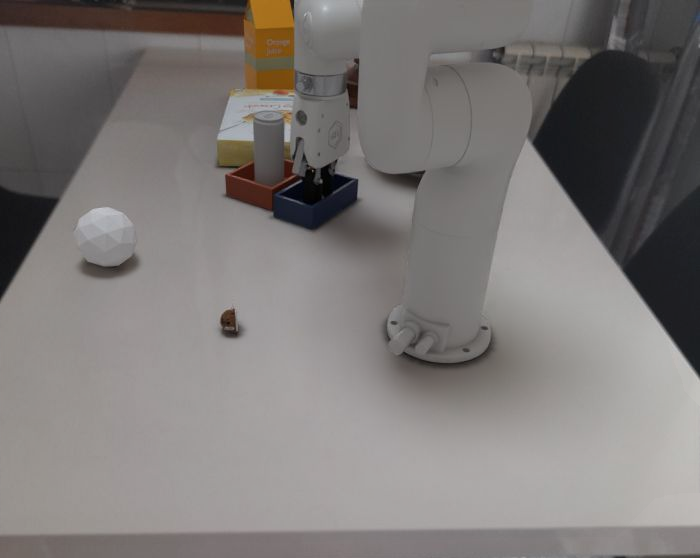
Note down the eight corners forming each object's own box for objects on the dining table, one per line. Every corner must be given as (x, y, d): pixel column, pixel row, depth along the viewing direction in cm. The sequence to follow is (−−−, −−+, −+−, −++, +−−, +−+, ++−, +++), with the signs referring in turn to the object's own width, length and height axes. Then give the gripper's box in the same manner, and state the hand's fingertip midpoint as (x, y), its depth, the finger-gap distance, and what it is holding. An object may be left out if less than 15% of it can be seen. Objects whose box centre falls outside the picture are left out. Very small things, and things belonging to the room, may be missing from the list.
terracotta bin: (272, 210, 112) (272, 189, 110) (226, 195, 116) (224, 174, 114) (312, 187, 120) (312, 166, 118) (267, 173, 124) (267, 153, 121)
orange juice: (245, 89, 160) (242, -10, 148) (282, 86, 163) (282, -11, 151) (256, 100, 154) (254, -2, 143) (295, 96, 158) (296, -3, 146)
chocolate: (222, 322, 87) (220, 294, 85) (240, 322, 87) (239, 294, 85) (218, 336, 85) (217, 308, 82) (237, 336, 85) (236, 308, 83)
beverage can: (249, 189, 117) (246, 116, 109) (265, 179, 120) (264, 107, 113) (274, 196, 115) (273, 122, 108) (290, 186, 118) (290, 114, 111)
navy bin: (312, 229, 108) (312, 207, 106) (273, 216, 111) (273, 195, 108) (357, 199, 117) (358, 179, 115) (320, 188, 120) (320, 167, 118)
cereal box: (330, 88, 145) (335, 139, 122) (329, 116, 148) (334, 170, 126) (229, 86, 144) (215, 137, 121) (231, 114, 147) (218, 168, 125)
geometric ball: (127, 274, 100) (158, 231, 97) (93, 283, 92) (126, 236, 90) (87, 237, 100) (117, 193, 97) (51, 243, 93) (82, 195, 90)
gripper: (311, 100, 95) (309, 227, 106) (371, 75, 106) (363, 191, 117) (265, 89, 98) (267, 213, 109) (328, 65, 109) (325, 180, 120)
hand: (317, 201), depth 113 cm, fingers closed
